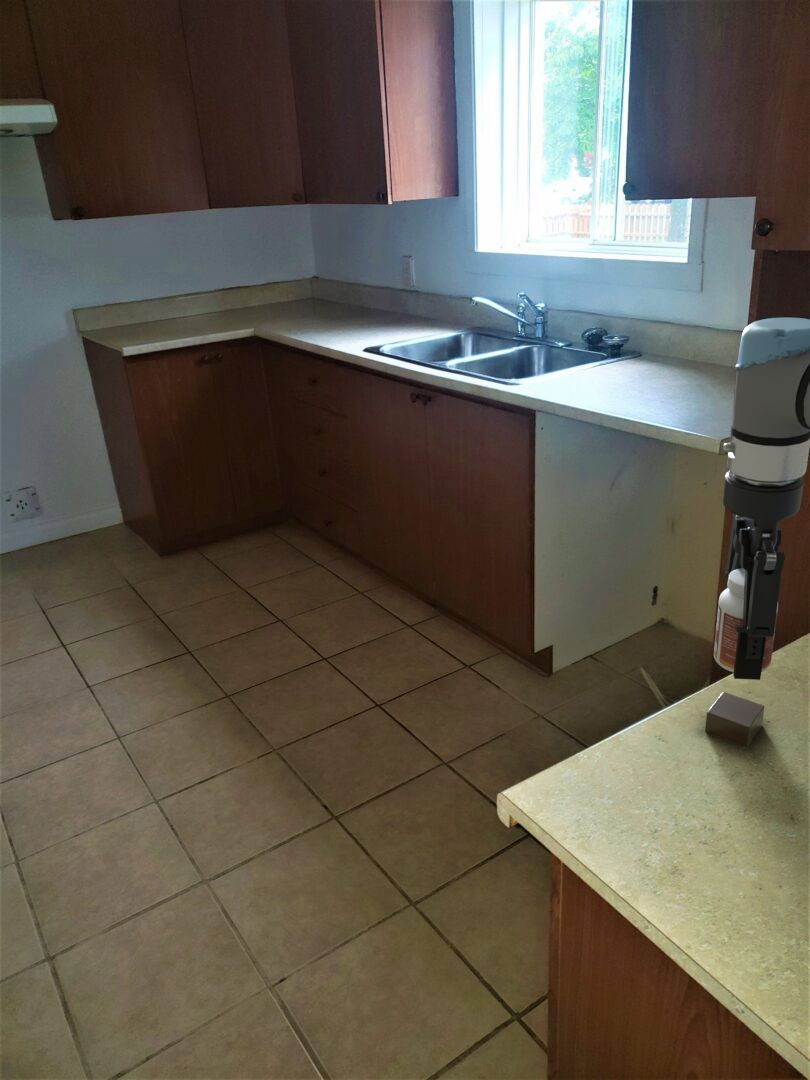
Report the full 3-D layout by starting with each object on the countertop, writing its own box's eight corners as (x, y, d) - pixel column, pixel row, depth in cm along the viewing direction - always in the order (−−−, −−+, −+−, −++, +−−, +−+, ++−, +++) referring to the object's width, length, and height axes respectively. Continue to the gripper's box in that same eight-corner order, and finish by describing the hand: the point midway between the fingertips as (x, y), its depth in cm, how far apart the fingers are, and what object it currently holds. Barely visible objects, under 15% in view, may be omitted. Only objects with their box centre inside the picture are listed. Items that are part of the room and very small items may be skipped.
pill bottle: (782, 670, 92) (795, 585, 87) (733, 681, 91) (743, 595, 86) (749, 642, 98) (759, 560, 93) (702, 652, 97) (710, 569, 92)
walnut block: (721, 710, 102) (723, 691, 100) (762, 725, 99) (764, 705, 97) (704, 732, 98) (706, 711, 97) (746, 748, 95) (749, 727, 94)
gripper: (711, 442, 93) (694, 615, 103) (744, 511, 76) (720, 709, 86) (781, 441, 92) (757, 617, 102) (830, 511, 75) (796, 713, 85)
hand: (740, 659), depth 94 cm, fingers closed on pill bottle, 6 cm apart
